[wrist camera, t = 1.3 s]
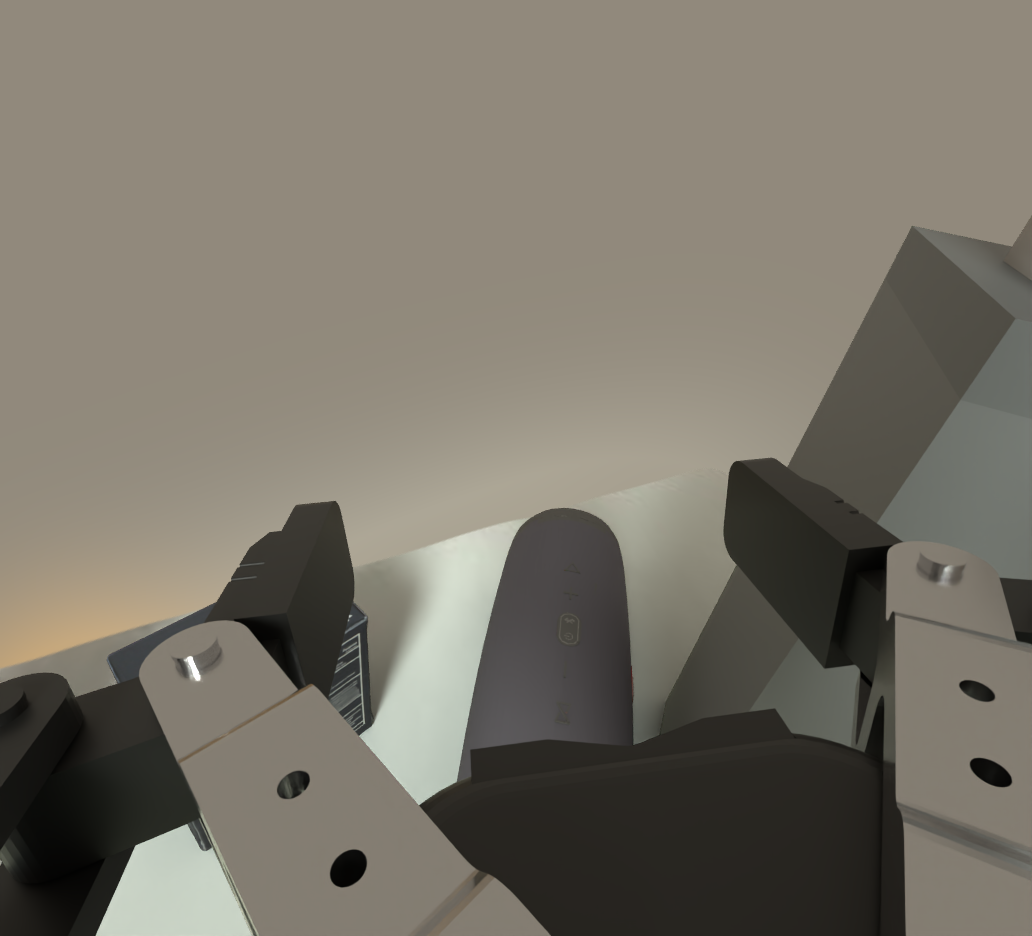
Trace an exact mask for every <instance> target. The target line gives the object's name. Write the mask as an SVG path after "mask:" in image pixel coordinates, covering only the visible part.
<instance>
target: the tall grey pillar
mask: <svg viewBox="0 0 1032 936" xmlns="http://www.w3.org/2000/svg"><path fill="white" fill-rule="evenodd" d="M1011 248H1012V247H1011V246H1005V245H1001V244H996V243H992V242H987V241H981V240H977V239H972V238H968V237H963V236H957V235H953V234H948V233H944V232H939V231H934V230H929V229H925V228H920V227H915V226H912V227H911V229H910V231H909V233H908V235H907V237H906V239H905V241H904V243H903V245H902V247H901V249H900V251H899V252H898V254H897V256H896V259H895V260H894V262H893V264H892V266H891V268H890V270H889V272H888V274H887V276H886V278H885V279H884V281H883V283H882V285H881V287H880V289H879V291H878V293H877V295H876V297H875V299H874V301H873V303H872V305H871V307H870V308H869V310H868V312H867V314H866V316H865V318H864V320H863V322H862V324H861V326H860V328H859V330H858V332H857V334H856V335H855V338H854V339H853V341H852V343H851V345H850V347H849V349H848V351H847V353H846V355H845V357H844V359H843V361H842V363H841V364H840V366H839V368H838V370H837V372H836V374H835V376H834V378H833V380H832V382H831V384H830V386H829V388H828V390H827V392H826V393H825V395H824V398H823V399H822V401H821V403H820V405H819V407H818V409H817V411H816V413H815V415H814V417H813V419H812V420H811V422H810V424H809V426H808V428H807V430H806V432H805V434H804V436H803V438H802V440H801V442H800V444H799V446H798V448H797V449H796V451H795V453H794V455H793V457H792V459H791V461H790V463H789V465H788V467H787V468H789V469H790V470H791V471H793V472H794V473H796V474H797V475H798V476H800V477H801V478H803V479H805V480H808V481H810V482H813V483H816V484H818V485H821V486H823V487H826V488H827V489H829V490H830V491H832V492H833V493H834V494H836V495H837V496H839V497H840V498H842V499H843V500H844V503H849V504H850V505H851V506H853V507H854V508H856V509H857V510H859V514H860V513H863V514H864V515H866V516H867V517H869V518H870V519H871V520H873V521H874V522H876V523H877V524H879V525H880V526H881V527H883V528H884V529H886V530H887V531H889V532H890V533H891V534H893V535H894V536H896V537H897V538H898V539H900V540H901V541H903V542H908V541H925V542H933V543H939V544H944V545H948V546H952V547H955V548H958V549H961V550H964V551H967V552H969V553H971V554H973V555H975V556H977V557H979V558H981V559H983V560H984V561H986V562H987V563H989V564H990V565H991V566H992V567H993V568H994V569H995V570H996V571H997V573H998V575H999V578H1012V579H1026V580H1032V280H1030V279H1029V278H1027V277H1026V276H1024V275H1023V274H1022V273H1020V272H1019V271H1017V270H1016V269H1014V268H1013V267H1011V266H1010V265H1008V264H1007V263H1006V262H1004V259H1005V257H1006V256H1007V254H1008V253H1009V251H1010V250H1011ZM859 670H860V669H859V668H858V667H857V666H856V665H850V666H843V667H835V668H828V669H824V668H823V667H822V665H821V664H820V663H819V662H818V661H817V659H816V658H815V657H814V656H813V655H812V653H811V652H810V651H809V650H808V649H807V647H806V646H805V645H804V644H803V643H802V642H801V640H800V639H799V638H798V637H797V636H796V634H795V633H794V632H793V631H792V630H791V628H790V627H789V626H788V625H787V624H786V623H785V621H784V620H783V619H782V618H781V617H780V615H779V614H778V613H777V612H776V611H775V609H774V608H773V607H772V606H771V605H770V604H769V602H768V601H767V600H766V599H765V598H764V596H763V595H762V594H761V593H760V592H759V590H758V589H757V588H756V587H755V586H754V585H753V583H752V582H751V581H750V580H749V579H748V577H747V576H746V575H745V574H744V573H743V571H742V570H741V569H740V568H739V567H738V566H737V565H736V567H735V569H734V571H733V573H732V575H731V577H730V579H729V581H728V583H727V585H726V587H725V589H724V590H723V592H722V594H721V596H720V598H719V600H718V602H717V604H716V606H715V608H714V610H713V612H712V614H711V616H710V618H709V619H708V621H707V623H706V625H705V627H704V629H703V631H702V633H701V635H700V637H699V639H698V641H697V643H696V645H695V647H694V648H693V650H692V652H691V654H690V656H689V658H688V660H687V662H686V664H685V666H684V668H683V670H682V672H681V674H680V675H679V677H678V679H677V681H676V683H675V685H674V687H673V689H672V691H671V693H670V695H669V697H668V699H667V701H666V705H665V710H664V715H663V720H662V726H661V731H660V735H662V734H664V733H667V732H669V731H672V730H674V729H677V728H679V727H682V726H684V725H687V724H689V723H692V722H694V721H697V720H699V719H702V718H707V717H714V716H722V715H729V714H736V713H744V712H751V711H759V710H766V709H773V708H775V709H776V710H777V712H778V713H779V715H780V716H781V718H782V719H783V721H784V722H785V724H786V725H787V727H788V728H789V730H790V731H791V733H795V734H803V735H808V736H814V737H819V738H823V739H827V740H830V741H834V742H837V743H841V744H843V745H846V746H849V747H851V738H852V725H853V712H854V699H855V687H856V683H857V679H858V674H859Z"/></svg>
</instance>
